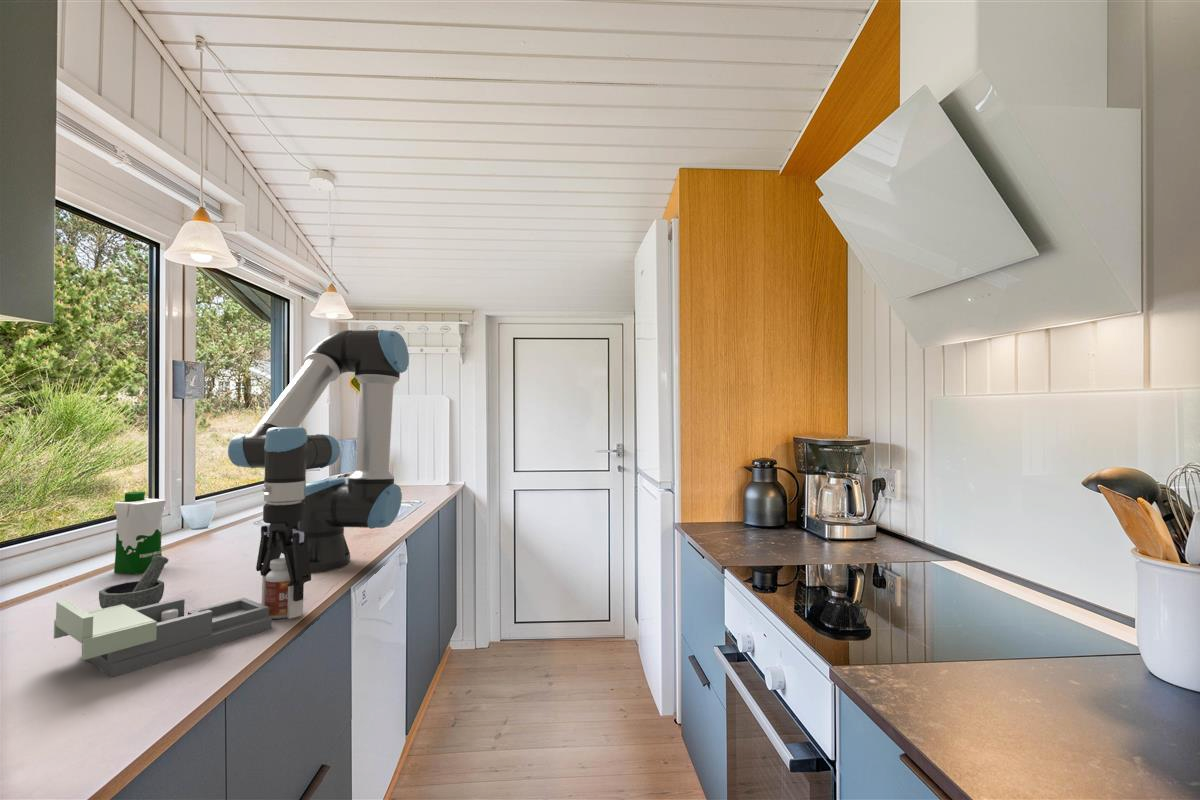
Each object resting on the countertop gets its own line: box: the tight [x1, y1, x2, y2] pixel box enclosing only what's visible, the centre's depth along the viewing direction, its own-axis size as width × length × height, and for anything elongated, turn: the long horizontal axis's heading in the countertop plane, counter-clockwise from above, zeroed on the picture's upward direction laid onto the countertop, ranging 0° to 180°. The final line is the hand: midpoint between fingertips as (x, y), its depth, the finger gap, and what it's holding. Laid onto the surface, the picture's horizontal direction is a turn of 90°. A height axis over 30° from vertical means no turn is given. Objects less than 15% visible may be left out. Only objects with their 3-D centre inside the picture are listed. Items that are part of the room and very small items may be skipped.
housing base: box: [81, 597, 273, 678], centre depth 101 cm, size 24×14×6 cm, turn 147°
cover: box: [53, 599, 157, 661], centre depth 91 cm, size 9×15×6 cm, turn 57°
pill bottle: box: [265, 557, 291, 620], centre depth 114 cm, size 6×6×11 cm
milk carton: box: [113, 491, 167, 575], centre depth 145 cm, size 9×9×20 cm
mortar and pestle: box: [98, 555, 170, 609], centre depth 110 cm, size 11×9×12 cm
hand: (281, 611), depth 114 cm, fingers open, 9 cm apart
